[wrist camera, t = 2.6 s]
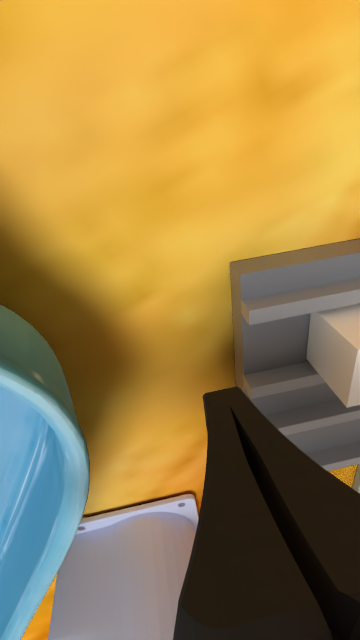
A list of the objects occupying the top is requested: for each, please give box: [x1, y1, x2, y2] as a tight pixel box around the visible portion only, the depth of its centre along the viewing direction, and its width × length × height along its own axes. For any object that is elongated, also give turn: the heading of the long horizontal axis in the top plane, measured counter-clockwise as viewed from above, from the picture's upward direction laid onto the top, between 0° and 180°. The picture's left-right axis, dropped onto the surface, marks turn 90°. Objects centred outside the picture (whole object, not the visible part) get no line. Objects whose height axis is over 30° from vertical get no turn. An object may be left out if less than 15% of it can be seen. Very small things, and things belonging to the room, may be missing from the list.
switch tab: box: [306, 303, 360, 408], centre depth 14 cm, size 2×3×3 cm
